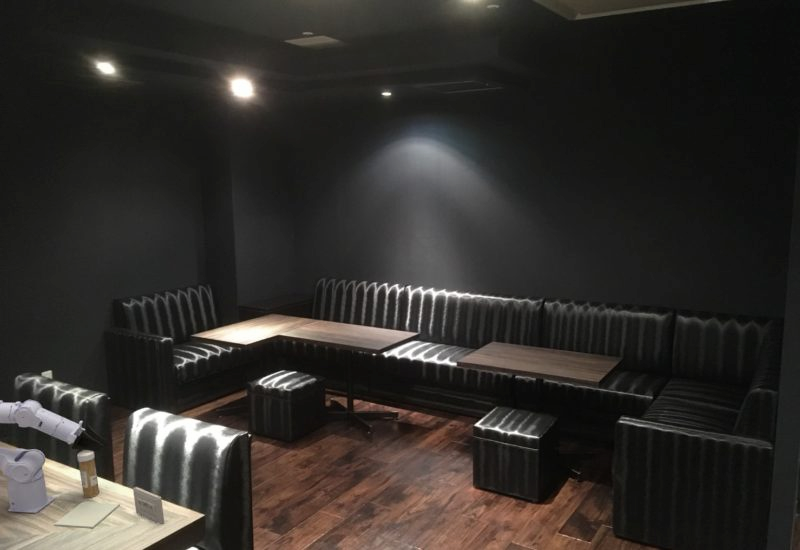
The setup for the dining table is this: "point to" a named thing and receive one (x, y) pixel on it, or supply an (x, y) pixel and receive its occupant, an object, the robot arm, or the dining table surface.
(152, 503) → the cassette
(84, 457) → the sprinkles bottle
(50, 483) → the dining table surface
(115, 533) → the dining table surface
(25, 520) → the dining table surface
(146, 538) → the dining table surface
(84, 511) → the sage mat
